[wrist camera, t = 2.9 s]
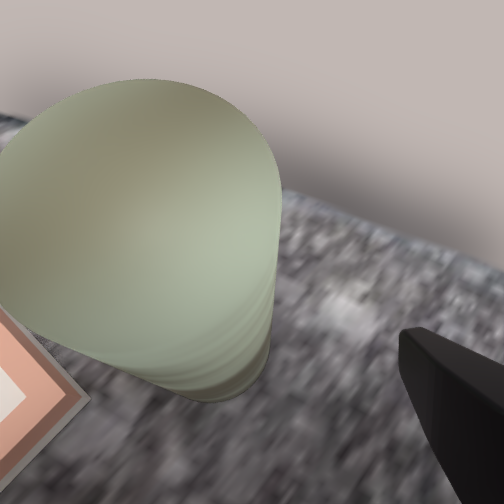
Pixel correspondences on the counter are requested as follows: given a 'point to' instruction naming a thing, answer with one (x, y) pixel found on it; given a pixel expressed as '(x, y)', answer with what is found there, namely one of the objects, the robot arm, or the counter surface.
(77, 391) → the board
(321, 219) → the counter surface
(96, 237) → the post
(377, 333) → the counter surface
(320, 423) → the counter surface
